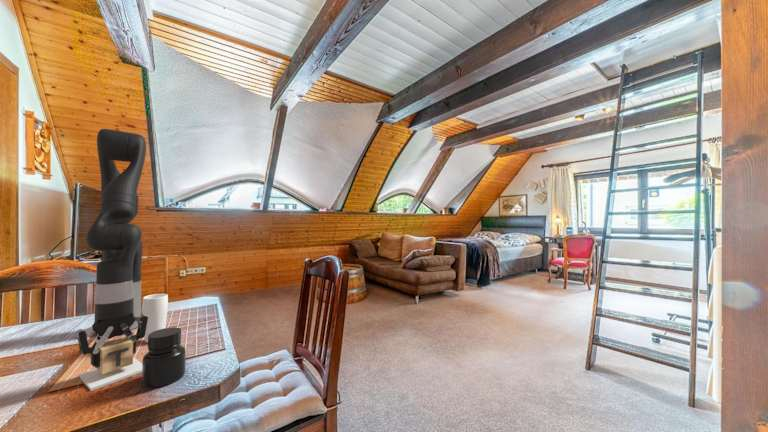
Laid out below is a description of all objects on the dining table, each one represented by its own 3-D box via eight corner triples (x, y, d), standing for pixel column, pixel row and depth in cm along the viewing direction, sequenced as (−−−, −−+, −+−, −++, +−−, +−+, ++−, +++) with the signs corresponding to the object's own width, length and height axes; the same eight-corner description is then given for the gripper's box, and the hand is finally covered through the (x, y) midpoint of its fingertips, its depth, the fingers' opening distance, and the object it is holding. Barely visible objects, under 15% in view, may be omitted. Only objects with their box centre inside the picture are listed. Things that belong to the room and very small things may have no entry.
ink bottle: (181, 365, 80) (182, 322, 80) (191, 376, 74) (192, 331, 74) (136, 380, 72) (136, 333, 72) (144, 394, 66) (144, 343, 66)
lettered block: (124, 357, 79) (124, 336, 79) (133, 364, 76) (133, 342, 76) (94, 367, 74) (95, 344, 74) (102, 374, 71) (102, 350, 71)
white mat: (78, 376, 73) (78, 374, 73) (132, 358, 83) (132, 356, 83) (90, 391, 67) (90, 388, 67) (147, 370, 77) (147, 367, 77)
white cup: (153, 345, 91) (153, 299, 91) (136, 343, 92) (136, 298, 92) (172, 337, 97) (173, 294, 98) (156, 335, 99) (157, 292, 99)
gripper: (143, 290, 83) (142, 347, 83) (71, 302, 71) (70, 369, 71) (153, 294, 79) (152, 354, 79) (79, 308, 67) (78, 378, 67)
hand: (114, 360), depth 75 cm, fingers closed on lettered block, 6 cm apart
